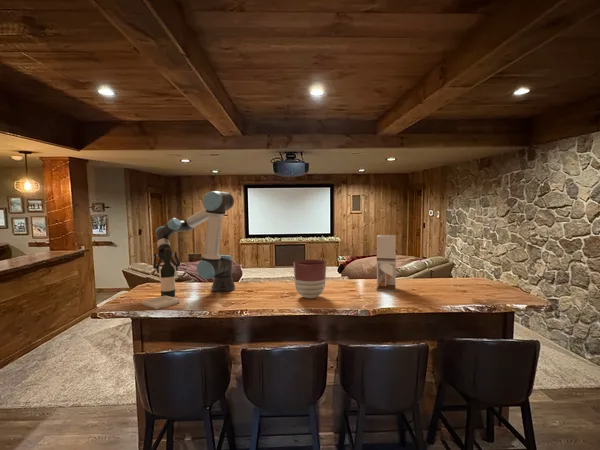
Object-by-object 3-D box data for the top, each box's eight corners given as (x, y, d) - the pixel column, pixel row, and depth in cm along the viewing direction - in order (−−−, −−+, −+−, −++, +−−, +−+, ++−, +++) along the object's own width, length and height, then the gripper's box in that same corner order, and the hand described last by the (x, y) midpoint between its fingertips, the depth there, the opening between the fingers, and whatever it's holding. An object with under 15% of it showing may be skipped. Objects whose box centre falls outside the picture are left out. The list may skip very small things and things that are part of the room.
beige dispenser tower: (376, 290, 214) (376, 236, 212) (377, 286, 224) (377, 235, 222) (395, 291, 211) (395, 236, 209) (395, 287, 221) (395, 235, 219)
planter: (324, 302, 188) (323, 265, 187) (290, 301, 192) (290, 264, 191) (328, 293, 207) (328, 259, 206) (297, 292, 211) (297, 259, 210)
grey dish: (165, 299, 199) (165, 295, 198) (179, 303, 190) (179, 298, 190) (142, 305, 187) (142, 300, 187) (156, 309, 179) (156, 304, 179)
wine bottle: (162, 299, 200) (161, 249, 198) (159, 296, 207) (157, 247, 205) (177, 296, 205) (175, 248, 203) (173, 293, 211) (171, 246, 210)
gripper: (180, 249, 223) (185, 277, 209) (146, 252, 213) (149, 281, 199) (181, 242, 218) (186, 270, 205) (146, 244, 208) (149, 274, 194)
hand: (168, 276), depth 202 cm, fingers closed on wine bottle, 8 cm apart
